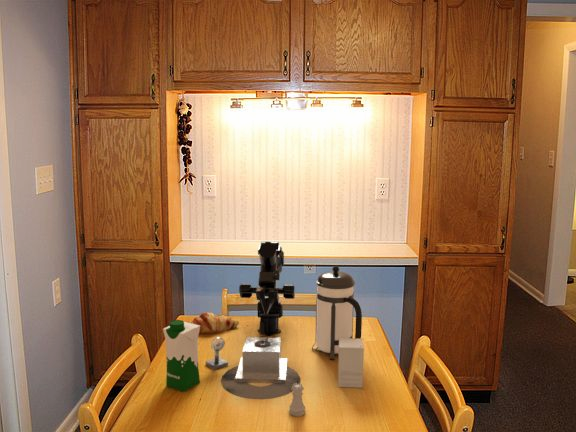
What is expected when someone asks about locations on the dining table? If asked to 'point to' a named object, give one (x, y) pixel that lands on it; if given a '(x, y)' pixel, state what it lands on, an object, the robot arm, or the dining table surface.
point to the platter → (259, 386)
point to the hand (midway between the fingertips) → (265, 314)
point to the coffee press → (335, 311)
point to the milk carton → (182, 355)
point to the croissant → (214, 323)
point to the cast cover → (262, 361)
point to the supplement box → (350, 362)
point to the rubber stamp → (217, 354)
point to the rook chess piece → (297, 401)
